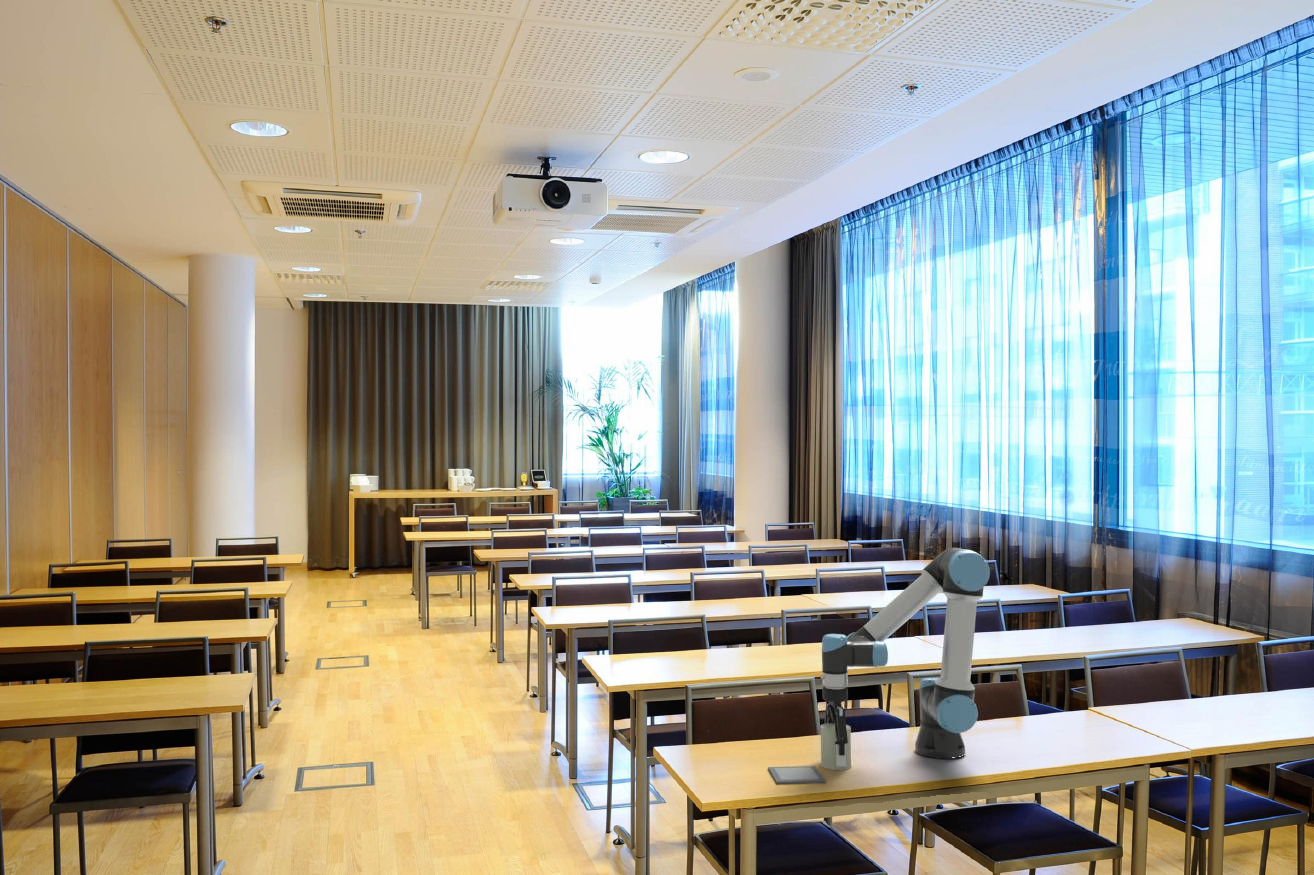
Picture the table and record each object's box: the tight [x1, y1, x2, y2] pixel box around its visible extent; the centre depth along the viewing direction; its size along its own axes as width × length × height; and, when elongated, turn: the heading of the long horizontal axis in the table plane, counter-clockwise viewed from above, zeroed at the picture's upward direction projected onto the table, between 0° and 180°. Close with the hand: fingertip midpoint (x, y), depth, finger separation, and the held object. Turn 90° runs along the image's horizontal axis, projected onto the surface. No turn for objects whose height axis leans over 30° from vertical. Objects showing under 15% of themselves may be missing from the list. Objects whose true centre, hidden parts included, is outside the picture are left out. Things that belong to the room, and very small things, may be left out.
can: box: [819, 723, 852, 771], centre depth 283 cm, size 9×9×12 cm
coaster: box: [767, 765, 827, 785], centre depth 273 cm, size 14×14×1 cm
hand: (836, 759), depth 283 cm, fingers open, 11 cm apart
